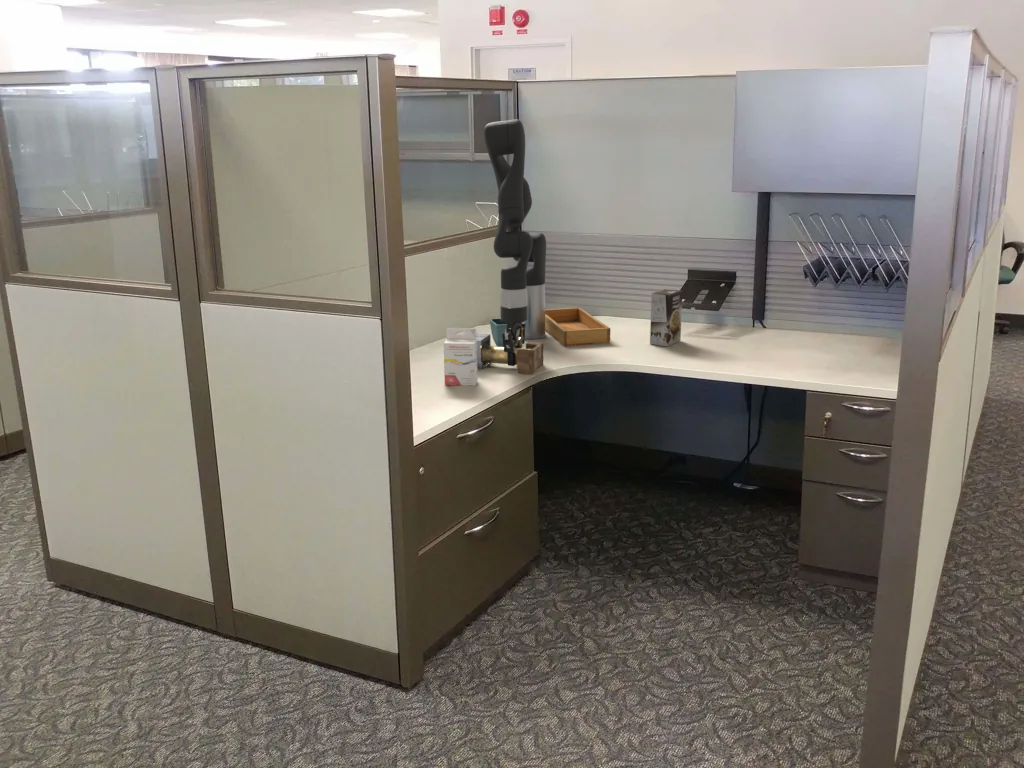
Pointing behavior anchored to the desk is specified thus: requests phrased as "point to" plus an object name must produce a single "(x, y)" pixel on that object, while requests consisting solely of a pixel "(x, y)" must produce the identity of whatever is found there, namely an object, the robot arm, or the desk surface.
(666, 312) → the coffee box
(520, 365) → the socket
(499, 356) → the tube
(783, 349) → the desk surface
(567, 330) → the tray
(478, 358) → the sleeve
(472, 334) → the ink cartridge box
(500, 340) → the flower pot
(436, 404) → the desk surface
